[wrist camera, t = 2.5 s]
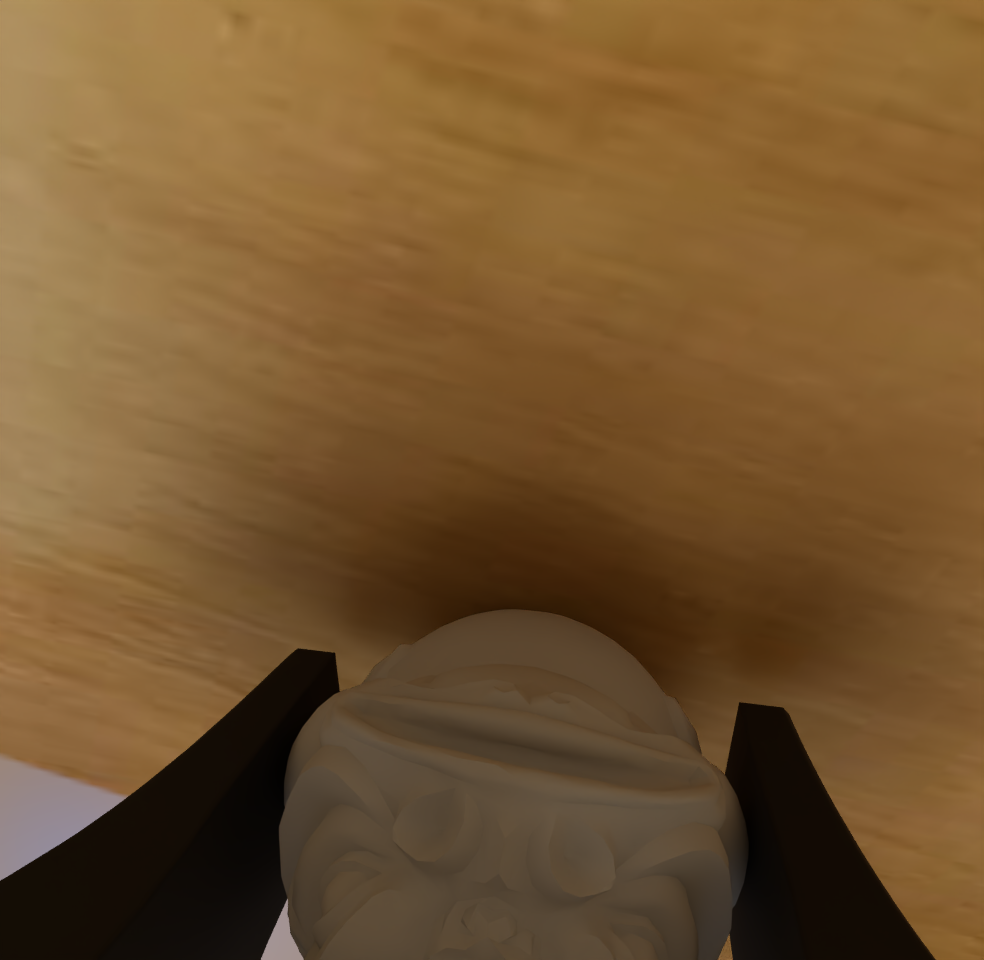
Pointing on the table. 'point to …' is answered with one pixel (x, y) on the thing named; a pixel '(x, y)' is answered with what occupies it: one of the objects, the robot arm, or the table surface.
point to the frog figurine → (508, 807)
